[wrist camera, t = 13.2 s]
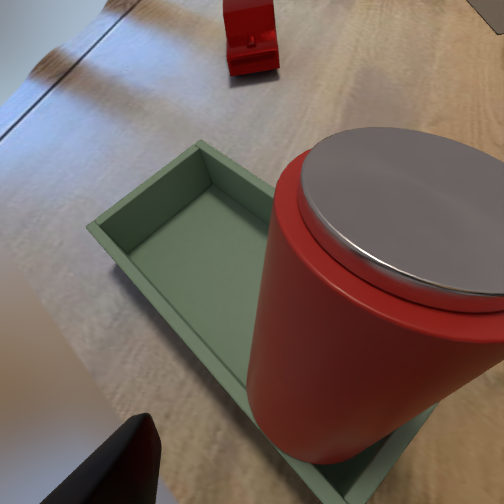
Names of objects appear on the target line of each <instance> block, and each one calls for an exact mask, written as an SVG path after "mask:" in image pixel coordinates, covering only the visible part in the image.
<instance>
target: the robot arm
mask: <svg viewBox="0 0 504 504" xmlns="http://www.w3.org/2000/svg"><path fill="white" fill-rule="evenodd" d="M161 450H162V446H161V440H160V437H159V434H158V432H157V429H156V427H155V424H154V421H153V419H152V417H151V415H150V414H149V413H142V414H138V415H134V416H131V417H130V418H129V419H128V420H127V421H126V422H125V423H124V424H122V425H121V427H119V428H118V429H117V430H116V431H115V432H114V433H113V434H112V435H111V436H110V437H109V438H108V439H107V440H106V441H105V442H104V443H103V444H102V445H101V446H99V447H98V448H97V449H96V450H95V451H94V452H93V453H92V454H91V455H90V456H89V457H88V458H87V459H86V460H85V461H84V462H83V463H82V464H81V465H79V467H77V469H76V470H74V471H73V472H72V473H71V474H70V475H69V476H68V477H67V478H66V479H65V480H64V481H63V482H62V483H61V484H60V485H59V486H58V487H57V488H56V489H54V490H53V491H52V492H51V493H50V494H49V495H48V496H47V497H46V498H45V499H44V500H43V501H42V502H41V503H40V504H155V503H156V494H157V485H158V477H159V468H160V459H161Z"/></svg>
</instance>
